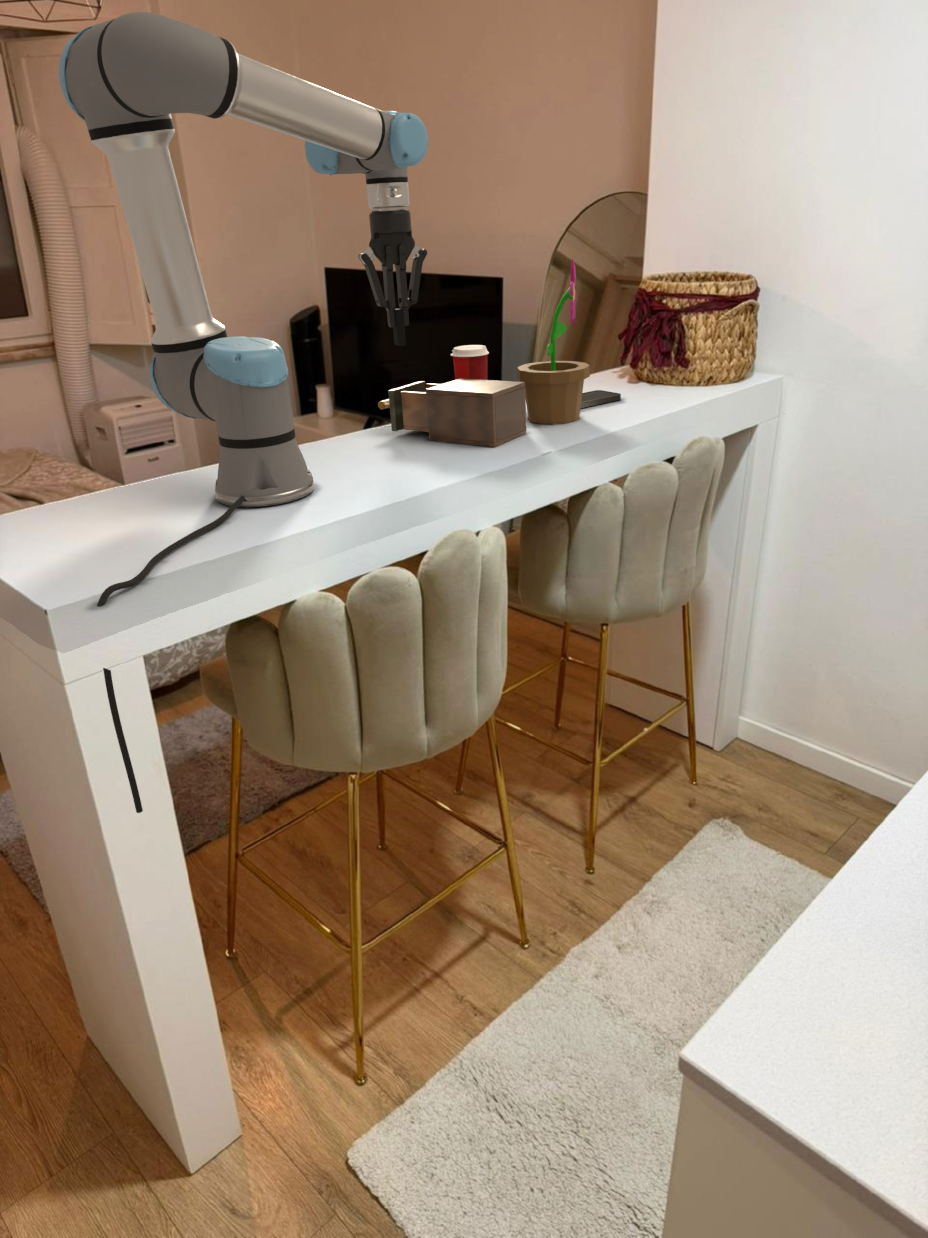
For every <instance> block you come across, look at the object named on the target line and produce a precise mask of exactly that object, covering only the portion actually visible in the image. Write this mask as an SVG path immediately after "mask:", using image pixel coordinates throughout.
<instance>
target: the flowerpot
mask: <svg viewBox="0 0 928 1238" xmlns="http://www.w3.org/2000/svg"><path fill="white" fill-rule="evenodd" d="M570 262H571V263H570V281H569V287H568V288H567V290H566V291H565V293H563V295H562V297H561V298H560V301H559V303H558V305H557V307H556V309H555V312H554V314H553V320H552V326H551V331H550V343H548V345H547V346H546V350H547V357H549V356H550V360H549V361H548V360H547V361H535V362H530V363H525V364H522V365H519V366H517V368H516V371H517V372H516V373H517V374H516V375H517V377H516V378H517V379H518V380H519V382H525V397H526V413H527V418H528V420H529V422H531V423H535V424H540V425H541V424H542V425H558V424H559V425H560V424H568V423H572V422H576V421H577V420H579V419H580V414H581V409H582V408H581V400H582V393H584V392H583V391H584V383H585V380H586V379H588V378H590V376H591V365H590V364H588V363H587V362H582V361H575V360H556V339H559V337H561V336H562V335H564V333H565V332H566V331H567V329H568V327H567V326H566V325H565V323H563V322H562V321H559V317H560V314H561V312H562V310H563V308H564V305H565V303H566V302H567V300H570V303H569V306H570V307H569V315H570V322H571V323H572V327H574V326H575V325H576V324H575V322H576V304H577V289H575V287H576V285H577V268H576V264H575V260H574V257H573V258H571V261H570Z"/></svg>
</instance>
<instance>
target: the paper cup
mask: <svg viewBox="0 0 928 1238" xmlns="http://www.w3.org/2000/svg"><path fill="white" fill-rule="evenodd" d="M451 352H452V353H450V357H452V361H453V371H454V380H457V379H460V378H464V379H481V380H488V355H489V354H490V352H489V351H488V348H487V346H486V345H483V344H467V345H466V344H464V345H457V346H455V347H453V349H452V350H451Z"/></svg>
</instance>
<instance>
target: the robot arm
mask: <svg viewBox="0 0 928 1238" xmlns="http://www.w3.org/2000/svg"><path fill="white" fill-rule="evenodd" d="M58 80H59V86H60V89H61V93H62V95H63V97H64V99H65V101H66V103H67V104H68V106H69V108H70V109H71V111H72V112H73V113H74V114H76V115H77V116H78V117H79V118H80V119H81V120H82V121H83V122H84V123H85V124H86V125H85V126H86V128H87V131H88V135H89V139H90V141H91V144H92V145H94V146H95V147H96V148H97V149H98V150H100V151H101V152H103V153H104V154H105V155H106V157H107V160H108V163H109V166H110V170H111V174H112V177H113V180H114V183H115V187H116V191H117V194H118V198H119V201H120V204H121V207H122V212H123V215H124V218H125V221H126V222H125V223H126V225H127V229H128V232H129V236H130V239H131V243H132V246H133V249H134V252H135V256H136V260H137V262H138V263H137V264H138V267H139V270H140V273H141V277H142V279H143V284H144V287H145V290H146V293H147V298H148V301H149V303H150V307H151V310H152V314H153V318H154V321H155V325H156V329H155V331H154V333H153V335H152V336H151V338H150V343H151V347H152V350H153V355H152V361H151V363H150V364H149V369H148V370H149V372H148V373H149V381H150V382H149V383H150V386H151V388H152V390H153V392H154V394H155V396H156V398H157V399H158V400H159V401H160V403H162V405H163V406H165V407H166V408H168V409H169V411H172V412H174V413H177V414H179V415H182V416H183V417H186V418H190V419H198V420H204V421H210V422H215V425H216V432H217V437H218V444H219V449H220V450H219V458H218V466H217V467H218V468H217V478H216V480H215V485H214V492H215V496H216V497H215V498H216V501H218V502H219V504H223V505H225V506H229V507H228V509H226V511H225V512H224V513H223V514H222V515H221V516H219V517H217V518H216V519H215V520H214V521H211V522H209V523H208V524H206V525H204V526H202V527H200V528H198V529H196V530H194V531H192V532H190V533H188V534H187V535H185V536H183V537H182V538H179V540H177V541H175V542H173V543H171V544H170V545H168V546H167V547H165V548H164V549H162V550H161V551H159V552H158V553H157V554H155V555H154V556H153V557H152V558H151V559H150V560H149V561H148V563H147V564H146V565H145V566H144V567H143V568H142V570H141V571H140V572H139V573H138V574H137V575H135V576H134V577H132V578H131V579H128V580H126V581H121V582H117V583H113V584H111V585H109V586H108V587H106V589H105V590H104V591H103V592H102V593H101V595H100V596H99V599H98V602H97V605H96V607H98V608H99V607H104V606H105V605H106V603H107V601H108V598H109V597H110V596H111V595H112V594H113V593H115V592H116V591H120V590H123V589H127V588H131V587H134V586H136V585H138V584H140V582H142V581H143V580H144V579H145V578H146V577H147V576H148V575H149V573H150V572H151V571H152V569H153V568H154V567H155V566H156V564H157V563H159V561H161V560H162V559H164V558H165V557H166V556H167V555H169V554H171V553H172V552H174V551H175V550H177V549H179V548H180V547H182V546H184V545H185V544H187V543H189V542H190V541H192V540H194V539H195V538H197V537H199V536H201V535H203V534H204V533H207V532H209V531H211V530H212V529H213V530H214V528H216V527H218V526H219V525H221V524H223V522H225V521H227V519H228V518H229V517H230V516H231V515H233V512H235V511H236V510H237V508H260V507H268V506H270V507H271V506H277V505H282V504H286V503H291V502H294V501H297V500H300V499H302V498H304V497H307V496H308V495H310V494H312V492H313V491H314V490H315V483H314V477H313V475H312V471H311V470H310V469H309V468H308V465H307V463H306V460H305V458H304V455H303V453H302V451H301V449H300V447H299V444H298V442H297V437H296V429H295V422H294V421H295V420H294V412H293V406H292V398H291V397H292V396H291V391H290V389H291V388H290V382H289V368H288V364H287V361H286V355H285V352H284V350H283V348H282V347H281V345H279V344H278V343H277V342H276V341H274V340H270V339H268V338H264V337H259V336H257V337H256V336H249V337H248V336H243V335H242V336H240V335H239V336H228V333H227V329H226V326H225V325H224V324H222V323H221V322H220V321H219V320H217V319H216V318H214V317H213V316H214V315H213V314H212V311H211V307H210V302H209V299H208V298H209V297H208V295H207V291H206V287H205V283H204V280H203V276H202V272H201V268H200V264H199V260H198V257H197V253H196V248H195V245H194V241H193V237H192V233H191V230H190V226H189V222H188V219H187V214H186V212H185V211H186V210H185V208H184V207H185V206H184V203H183V199H182V196H181V195H182V194H181V192H180V187H179V182H178V179H177V176H176V172H175V168H174V164H173V161H172V156H171V152H170V149H169V145H170V143H171V140H172V139H173V137H174V135H175V133H176V129H175V125H174V120H173V117H172V115H173V114H194V115H199V116H200V115H201V116H204V117H208V118H210V119H213V120H220V119H222V118H225V116H230V117H233V118H235V119H239V120H241V121H245V122H248V123H251V124H254V125H257V126H259V127H263V128H265V129H269V130H272V131H275V132H278V133H281V134H283V135H286V136H290V137H292V138H297V139H299V140H302V141H304V152H305V154H304V155H305V159H306V161H307V163H308V165H309V167H310V168H311V169H312V170H313V172H315V173H317V174H320V175H329V176H334V175H352V174H353V175H355V174H362V175H363V174H364V175H365V185H366V197H367V208H368V209H369V210H371V212H369V215H368V219H369V229H370V240H369V243H368V248H367V249H366V250H365V251H363V252H361V253H359V254H358V256H357V257H358V260H359V261H360V262H361V264H362V265H363V266H364V269H365V272H366V275H367V278H368V282H369V285H370V287H371V288H370V289H371V291H372V295H373V297H374V300H375V303H376V306H377V307H381V308H384V309H385V310H386V316H387V325H388V327H389V328H391V329H393V332H392V333H393V342H394V343H393V344H394V345H395V346H398V347H400V346H407V339H406V327H409V325H410V319H409V318H410V316H409V309H410V307H411V306H413V305H416V304H417V303H418V299H419V292H420V286H421V277H422V270H423V264H424V261H425V259H426V257H427V256H428V250H427V248H426V249H425V248H421V247H420V246H418V245H417V244H416V240H415V239H414V237H413V232H412V231H413V230H412V215H411V211H410V210H408V209H407V207H410V204H411V203H410V192H409V191H410V190H409V177H408V176H409V175H408V168H409V167H413V166H417V165H419V164H420V163H421V162H422V161H423V160H424V158H425V156H426V154H427V151H428V147H429V145H428V144H429V136H428V131H427V128H426V126H425V124H424V122H423V120H422V119H421V118H420V117H419V116H418V115H417V114H414V113H412V112H402V111H401V112H398V111H394V110H381V109H379V108H375V107H373V106H370V105H368V104H365V103H362V102H361V101H358V100H355V99H352V98H350V97H348V96H345V95H342V94H339V93H337V92H335V91H332V90H331V89H328V88H325V87H322V86H320V85H318V84H315V83H313V82H310V81H308V80H305V79H302V78H300V77H298V76H295V75H293V74H290V73H287V72H285V71H284V70H283V71H282V70H280V69H277V68H275V67H273V66H270V65H268V64H265V63H263V62H261V61H258V60H255V59H253V58H250V57H248V56H246V55H243V54H241V53H238V52H237V49H236V47H235V45H234V44H233V43H232V41H230V40H228V39H226V38H224V37H222V36H218V35H217V34H213V33H211V32H209V31H206V30H204V29H202V28H200V27H199V28H198V27H196V26H194V25H191V24H189V23H186V22H184V21H180V20H178V19H175V18H172V17H169V16H166V15H163V14H158V13H153V12H149V11H131V12H128V13H124V14H121V15H119V16H118V17H114V18H112V19H109V20H106V21H102V22H100V23H96V24H94V25H88V26H87V27H85V28H83V29H81V30H79V32H77V34H76V35H73V37H71V38H70V40H68V42H66V44H65V45H64V48H63V50H62V52H61V54H60V58H59V61H58ZM411 254H412V255H411ZM374 256H375V257H374ZM410 256H412V258H413V259H412V265H411V271H410V278H409V285H408V279H407V262H408V260H409V258H410ZM375 258H376V259H377V260H378V261H379V263H380V265H381V271H382V278H383V279H382V280H383V289H382V286H381V282H380V279H379V275H378V273H377V269H376V266H375V264H374V260H375ZM394 269H395V275H396V288H397V301H398V307H399V308H396V297H395V295H396V294H395V282H394ZM383 290H384V292H383ZM102 669H103V676H104V683H105V688H106V694H107V699H108V705H109V708H110V709H109V710H110V713H111V719H112V721H113V722H112V723H113V726H114V730H115V734H116V738H117V741H118V745H119V746H118V747H119V750H120V753H121V756H122V761H123V764H124V769H125V772H126V776H127V779H128V783H129V787H130V791H131V795H132V799H133V803H134V808H135V813H137V814H140V813H143V812H144V810H143V805H142V801H141V797H140V791H139V788H138V783H137V779H136V776H135V772H134V769H133V765H132V760H131V757H130V752H129V749H128V745H127V742H126V738H125V737H126V736H125V734H124V730H123V726H122V722H121V716H120V713H119V709H118V704H117V700H116V693H115V689H114V688H115V687H114V683H113V676H112V671H111V669H109V668H105V667H102Z"/></svg>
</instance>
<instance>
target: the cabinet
mask: <svg viewBox="0 0 928 1238" xmlns="http://www.w3.org/2000/svg"><path fill="white" fill-rule="evenodd" d="M439 384H440V385H437V386H434V387H431V388H427V389H426V388H425V389H426V402H427V416H428V430H429V432H428V440H429V441H432V442H443V443H451V444H461V445H469V446H480V447H488V448H489V447H490V448H497V447H498V446H500V445H503V444H505V443H507V442H509V441H512V440H514V439H516V438H519V437H521V436H523V435H526V434H527V405H526V397H525V382H522V381H515V380H514V381H511V380H497V379H496V380H494V379H487V380H481V379H464V378H460V379H457V380H455V379H454V380H451V381H447V382H444V383H439Z"/></svg>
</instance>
